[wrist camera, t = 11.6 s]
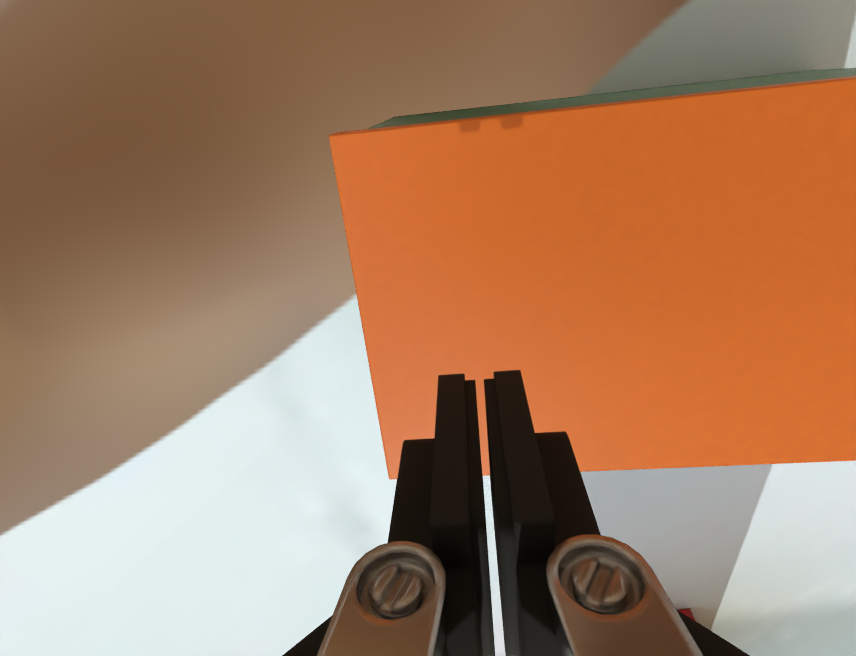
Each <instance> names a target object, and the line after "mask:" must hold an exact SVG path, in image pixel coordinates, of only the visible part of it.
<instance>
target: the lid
mask: <svg viewBox="0 0 856 656" xmlns="http://www.w3.org/2000/svg"><path fill="white" fill-rule="evenodd" d="M329 140H330V146H331V151H332V157H333V163H334V168H335V174H336V180H337V185H338V191H339V197H340V202H341V208H342V214H343V219H344V225H345V231H346V237H347V242H348V248H349V254H350V259H351V265H352V271H353V276H354V282H355V288H356V293H357V299H358V305H359V310H360V316H361V322H362V328H363V333H364V339H365V345H366V350H367V356H368V362H369V367H370V373H371V379H372V384H373V390H374V396H375V401H376V407H377V413H378V419H379V424H380V430H381V436H382V441H383V447H384V453H385V458H386V464H387V470H388V475H389V479H397V478H398V471H399V464H400V458H401V451H402V445H403V442H404V440H412V439H431V438H435V422H436V405H437V389H438V375H448V374H463V373H464V374H465V380H475V382H476V396H477V409H478V422H479V436H480V449H481V463H482V476H484V475H490V467H489V452H488V437H487V422H486V407H485V392H484V379H494V371H509V370H520V371H521V375H522V379H523V384H524V388H525V392H526V397H527V401H528V405H529V410H530V414H531V418H532V423H533V427H534V431H535V433H543V432H562V431H565V432H566V433H567V434H568V437H569V439H570V443H571V446H572V449H573V452H574V455H575V458H576V461H577V464H578V467H579V470H580V472H583V471H607V470H632V469H657V468H681V467H706V466H731V465H756V464H780V463H805V462H830V461H854V460H856V76H848V77H839V78H830V79H821V80H812V81H802V82H793V83H784V84H775V85H766V86H757V87H748V88H738V89H729V90H720V91H711V92H702V93H693V94H684V95H674V96H665V97H656V98H647V99H638V100H629V101H620V102H610V103H601V104H592V105H583V106H574V107H565V108H556V109H546V110H537V111H528V112H519V113H510V114H501V115H492V116H483V117H473V118H464V119H455V120H446V121H437V122H428V123H419V124H409V125H400V126H391V127H382V128H373V129H364V130H355V131H346V132H337V133H334V134H331V135H329Z"/></svg>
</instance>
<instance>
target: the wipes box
mask: <svg viewBox="0 0 856 656" xmlns="http://www.w3.org/2000/svg"><path fill="white" fill-rule="evenodd" d="M848 76H856V68H847V69H828V70H811V71H802V72H793V73H784V74H775V75H766V76H757V77H748V78H739V79H730V80H721V81H712V82H703V83H694V84H685V85H676V86H667V87H659V88H650V89H641V90H632V91H623V92H614V93H605V94H596V95H587V96H578V97H569V98H560V99H551V100H542V101H533V102H524V103H515V104H506V105H498V106H488V107H479V108H470V109H461V110H452V111H443V112H434V113H425V114H416V115H407V116H398V117H393V118H391V119H389V120H386V121H384V122H382V123H379V124H377V125H375V126H372V127H370V128H368V129H373V128H382V127H391V126H400V125H409V124H419V123H428V122H437V121H446V120H455V119H464V118H473V117H483V116H492V115H501V114H510V113H519V112H528V111H537V110H546V109H556V108H565V107H574V106H583V105H592V104H601V103H610V102H620V101H629V100H638V99H647V98H656V97H665V96H674V95H684V94H693V93H702V92H711V91H720V90H729V89H738V88H748V87H757V86H766V85H775V84H784V83H793V82H802V81H812V80H821V79H830V78H839V77H848Z"/></svg>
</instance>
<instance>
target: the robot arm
mask: <svg viewBox="0 0 856 656" xmlns="http://www.w3.org/2000/svg"><path fill="white" fill-rule="evenodd" d="M484 392H485V407H486V422H487V437H488V452H489V467H490V482H491V495H492V506H493V517H494V529H495V540H496V551H497V563H498V574H499V585H500V597H501V608H502V619H503V631H504V642H505V653H506V656H749V655H748V654H746V653H745V652H743V651H742V650H740V649H738V648H737V647H735V646H734V645H732V644H731V643H729V642H727V641H726V640H724V639H723V638H721V637H719V636H718V635H716V634H715V633H713V632H712V631H710V630H708V629H707V628H705V627H704V626H702V625H701V624H699V623H697V622H696V621H694V620H693V619H691V618H690V617H688V616H686V615H685V614H683V613H682V612H680V611H678V610H677V609H675V607H674V606H673V604H672V602H671V601H670V599H669V597H668V596H667V594H666V592H665V590H664V589H663V587H662V585H661V584H660V582H659V580H658V579H657V577H656V575H655V574H654V572H653V570H652V569H651V567H650V566H649V565H648V563H647V562H646V561H645V560H644V558H643V557H642V556H641V555H640V554H639V553H638V552H636V551H635V550H634V549H632V548H631V547H630V546H628V545H627V544H625V543H622V542H620V541H618V540H616V539H614V538H611V537H606V536H601V535H600V532H599V529H598V526H597V522H596V519H595V516H594V513H593V510H592V507H591V504H590V501H589V498H588V495H587V492H586V489H585V486H584V483H583V479H582V476H581V473H580V470H579V467H578V464H577V461H576V458H575V455H574V452H573V449H572V446H571V443H570V439H569V437H568V434H567V433H566V432H565V431H562V432H543V433H535V431H534V427H533V423H532V418H531V414H530V410H529V405H528V401H527V397H526V392H525V388H524V384H523V379H522V375H521V371H520V370H509V371H494V379H484ZM283 656H495V647H494V633H493V619H492V604H491V590H490V575H489V561H488V547H487V532H486V518H485V504H484V489H483V476H482V463H481V449H480V436H479V422H478V409H477V396H476V382H475V380H465V374H464V373H463V374H448V375H438V389H437V405H436V422H435V438H431V439H412V440H404V442H403V445H402V451H401V458H400V464H399V471H398V478H397V484H396V491H395V498H394V504H393V511H392V518H391V524H390V531H389V538H388V543H387V544H383V545H380V546H377V547H376V548H374V549H372V550H371V551H369V552H367V553H366V554H365V555H364V556H363V557H362V558H361V559H360V560H359V561H357V562H356V563H355V565H354V567H353V568H352V570H351V572H350V574H349V575H348V577H347V580H346V582H345V585H344V587H343V590H342V593H341V595H340V598H339V600H338V603H337V605H336V608H335V611H334V613H333V615H332V616H331V617H330V618H329V619H327V620H326V621H325V622H324V623H322V624H321V625H320V626H319V627H317V628H316V629H315V630H314V631H312V632H311V633H310V634H309V635H307V636H306V637H305V638H304V639H302V640H301V641H300V642H299V643H297V644H296V645H295V646H294V647H293V648H291V649H290V650H289V651H288V652H286V653H285V654H284V655H283Z"/></svg>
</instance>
